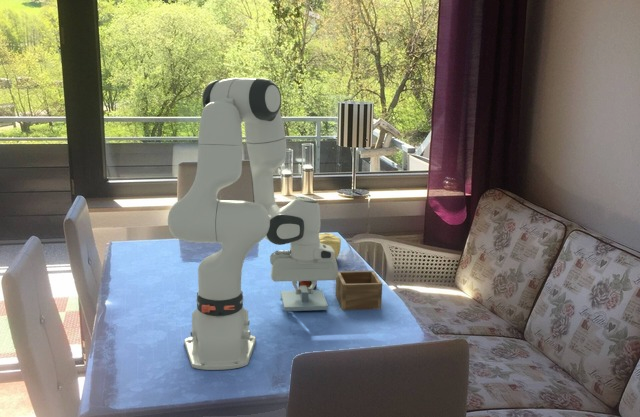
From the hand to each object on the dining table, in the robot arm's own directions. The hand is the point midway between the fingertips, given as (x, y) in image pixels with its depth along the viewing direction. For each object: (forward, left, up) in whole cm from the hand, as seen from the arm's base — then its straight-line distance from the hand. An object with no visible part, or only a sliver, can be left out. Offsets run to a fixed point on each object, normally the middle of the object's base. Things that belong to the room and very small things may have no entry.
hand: (303, 293), depth 195 cm
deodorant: (+15, -3, -5) cm, 16 cm away
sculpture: (+45, -13, -5) cm, 47 cm away
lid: (0, 0, -3) cm, 3 cm away
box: (+1, -17, -5) cm, 18 cm away
